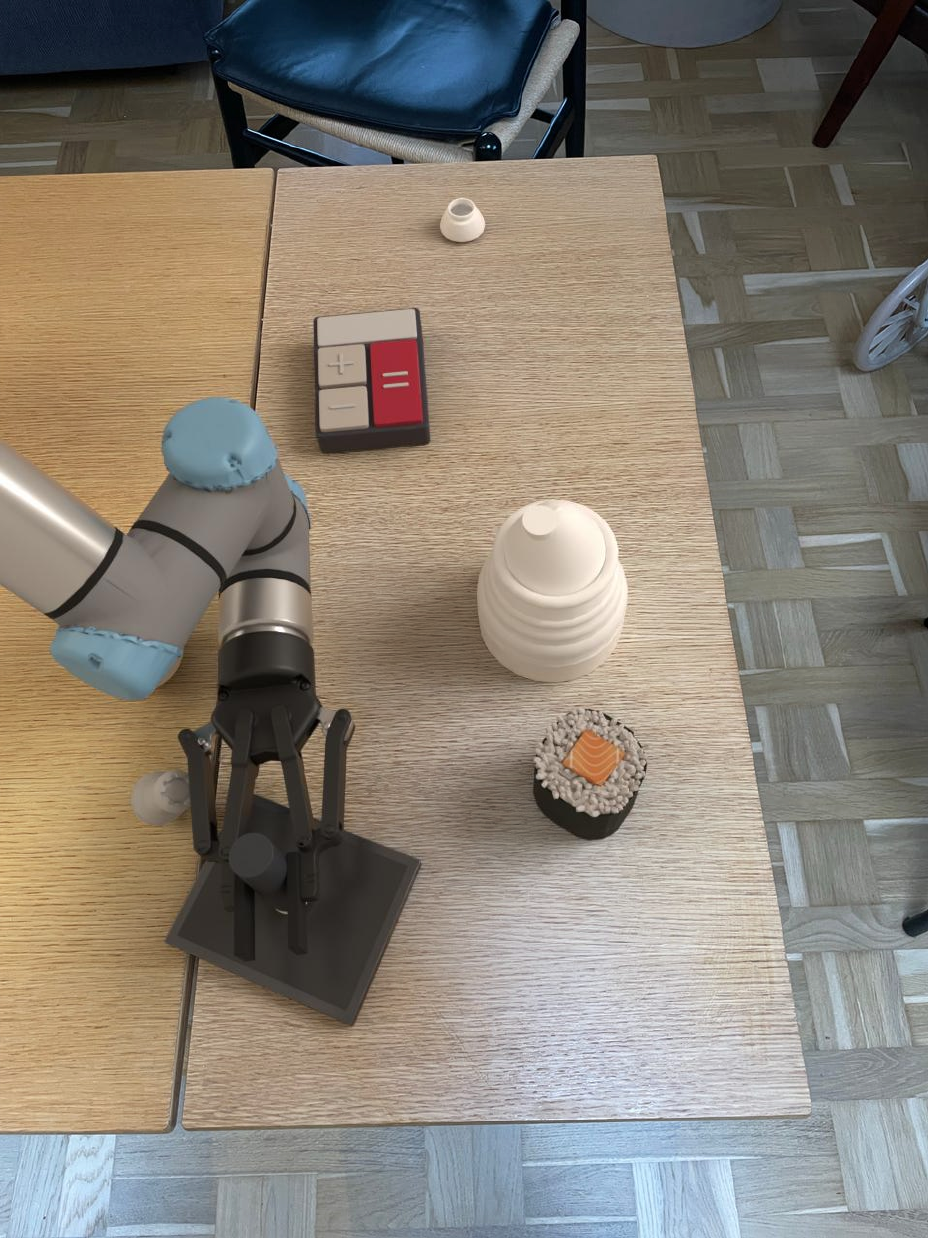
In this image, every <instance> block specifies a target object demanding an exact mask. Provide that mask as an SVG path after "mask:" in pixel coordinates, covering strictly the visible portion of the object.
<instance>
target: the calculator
mask: <svg viewBox="0 0 928 1238" xmlns="http://www.w3.org/2000/svg"><path fill="white" fill-rule="evenodd" d="M421 318H422V317H421V311H420V309H419V308H418V307H409V308H408V307H407V308H399V309H398V308H397V309H387V310H376V311H367V312H356V313H355V312H353V313H344V314H333V315H322V316H316V317H314V319H313V321H312V322H313V323H312V324H313V325H312V326H313V369H314V370H313V372H314V408H315V409H314V418H315V419H314V420H315V437H316V440H317V444H318V446H319V447H318V448H319V450H320V452H321V453H322V454H336V453H346V452H357V451H358V452H359V451H367V450H379V449H389V448H400V447H401V448H402V447H411V446H412V447H413V446H422V445H423V446H424V445H428V444H430V442H431V429H430V428H431V427H430V418H429V417H430V416H429V404H428V403H429V401H428V389H427V377H426V364H425V351H424V349H425V348H424V336H423V327H422V320H421Z"/></svg>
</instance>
